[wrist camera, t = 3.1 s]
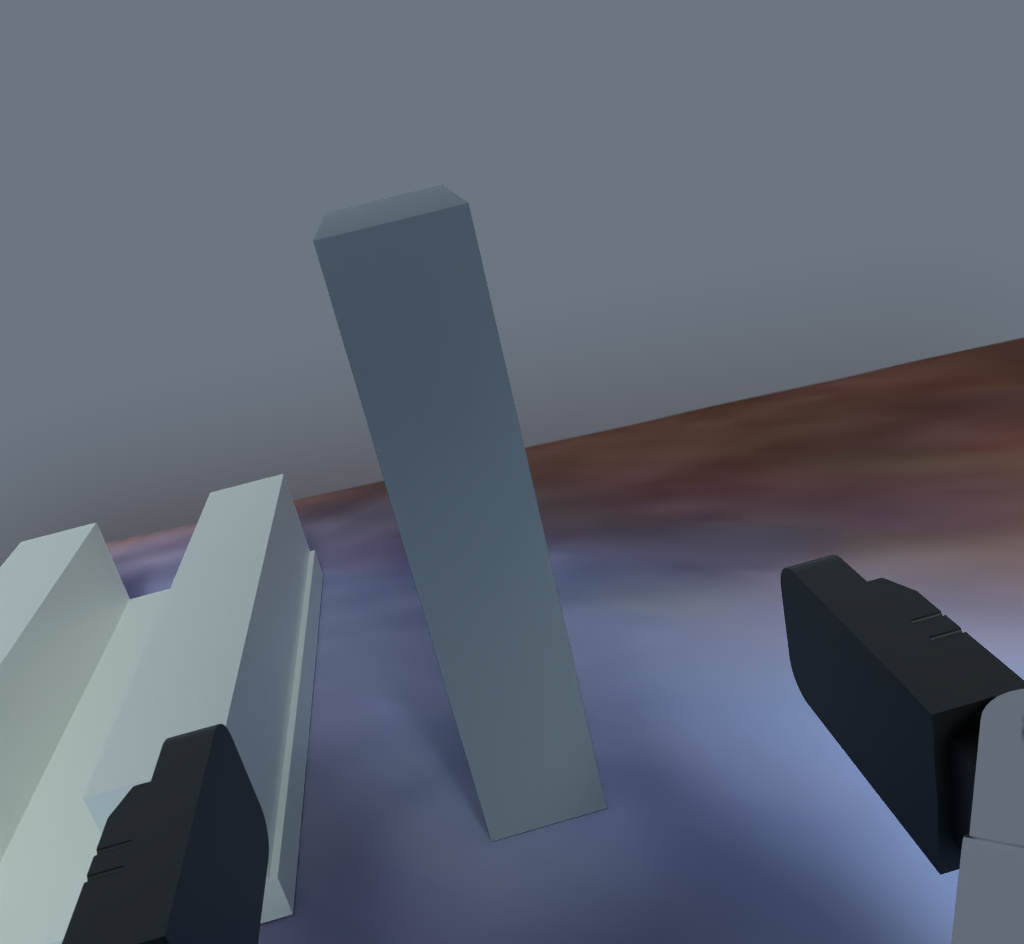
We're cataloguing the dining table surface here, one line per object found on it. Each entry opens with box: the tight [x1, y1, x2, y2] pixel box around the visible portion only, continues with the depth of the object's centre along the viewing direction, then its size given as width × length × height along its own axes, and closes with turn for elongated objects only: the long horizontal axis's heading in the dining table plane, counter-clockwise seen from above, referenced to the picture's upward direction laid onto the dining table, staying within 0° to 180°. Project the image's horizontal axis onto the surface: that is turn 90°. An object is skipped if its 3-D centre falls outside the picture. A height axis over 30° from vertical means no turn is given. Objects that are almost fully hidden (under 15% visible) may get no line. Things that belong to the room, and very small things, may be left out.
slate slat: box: [313, 185, 607, 842], centre depth 23 cm, size 3×6×15 cm, turn 9°
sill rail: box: [0, 474, 323, 944], centre depth 29 cm, size 11×18×5 cm, turn 9°
